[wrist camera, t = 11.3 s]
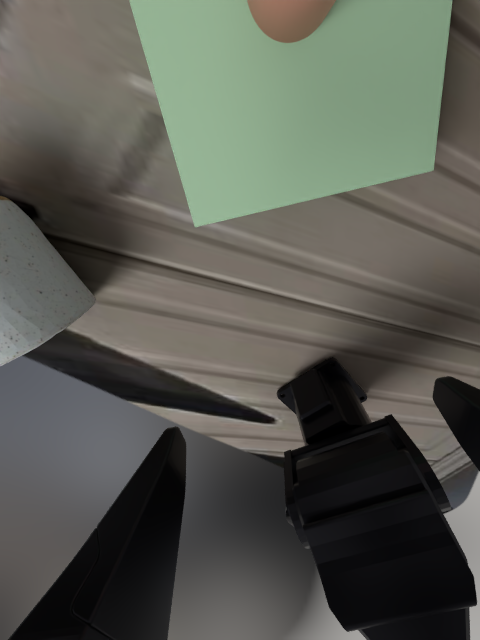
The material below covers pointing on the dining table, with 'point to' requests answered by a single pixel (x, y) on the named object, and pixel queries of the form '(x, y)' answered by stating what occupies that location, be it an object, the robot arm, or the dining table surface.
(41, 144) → the dining table surface
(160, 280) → the dining table surface
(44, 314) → the ceramic mug
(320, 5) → the salmon pink cylinder
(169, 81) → the pitch
